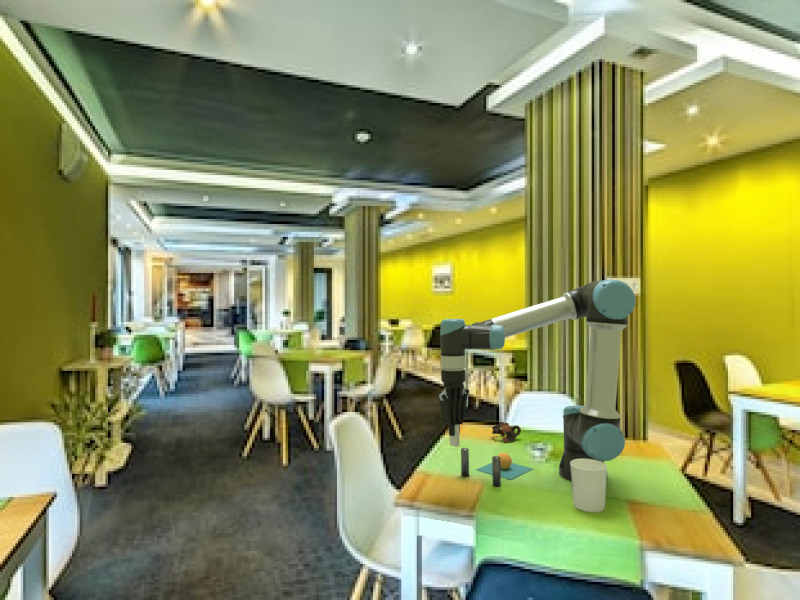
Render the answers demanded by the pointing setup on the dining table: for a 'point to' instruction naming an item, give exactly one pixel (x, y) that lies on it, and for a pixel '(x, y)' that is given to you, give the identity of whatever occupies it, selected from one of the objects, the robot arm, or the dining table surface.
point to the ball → (505, 460)
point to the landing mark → (507, 470)
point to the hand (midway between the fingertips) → (454, 445)
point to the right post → (496, 471)
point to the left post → (464, 462)
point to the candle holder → (588, 484)
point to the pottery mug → (506, 431)
